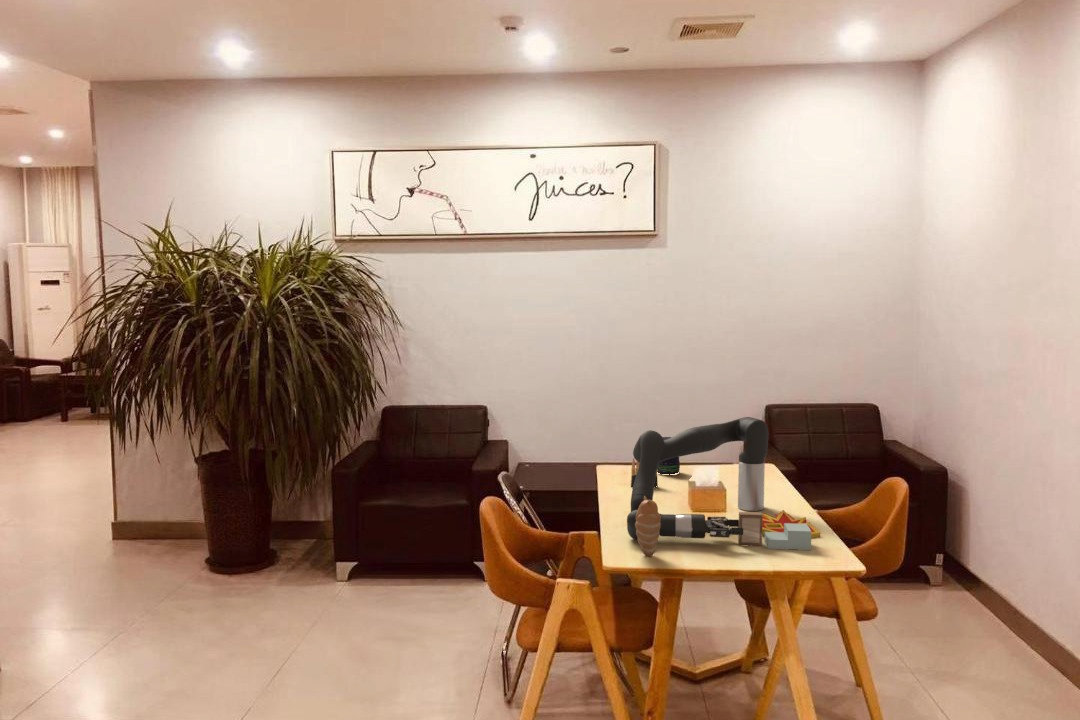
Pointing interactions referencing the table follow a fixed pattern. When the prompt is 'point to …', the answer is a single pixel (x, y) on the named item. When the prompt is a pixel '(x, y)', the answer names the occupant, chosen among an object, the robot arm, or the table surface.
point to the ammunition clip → (636, 473)
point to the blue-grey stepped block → (790, 537)
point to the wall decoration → (778, 523)
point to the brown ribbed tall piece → (648, 526)
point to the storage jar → (669, 464)
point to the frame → (750, 528)
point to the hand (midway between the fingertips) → (741, 527)
